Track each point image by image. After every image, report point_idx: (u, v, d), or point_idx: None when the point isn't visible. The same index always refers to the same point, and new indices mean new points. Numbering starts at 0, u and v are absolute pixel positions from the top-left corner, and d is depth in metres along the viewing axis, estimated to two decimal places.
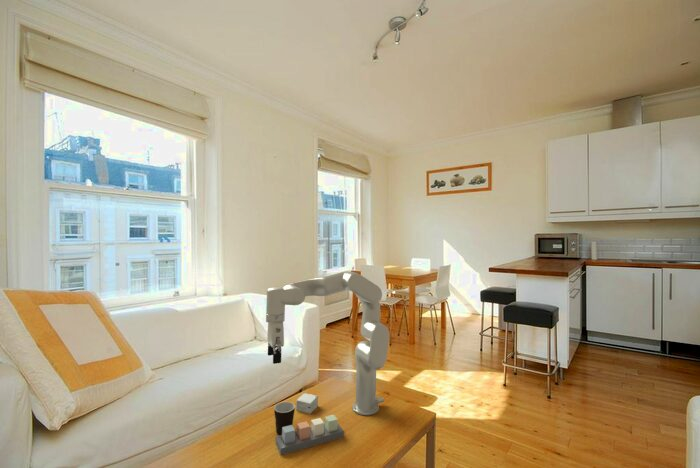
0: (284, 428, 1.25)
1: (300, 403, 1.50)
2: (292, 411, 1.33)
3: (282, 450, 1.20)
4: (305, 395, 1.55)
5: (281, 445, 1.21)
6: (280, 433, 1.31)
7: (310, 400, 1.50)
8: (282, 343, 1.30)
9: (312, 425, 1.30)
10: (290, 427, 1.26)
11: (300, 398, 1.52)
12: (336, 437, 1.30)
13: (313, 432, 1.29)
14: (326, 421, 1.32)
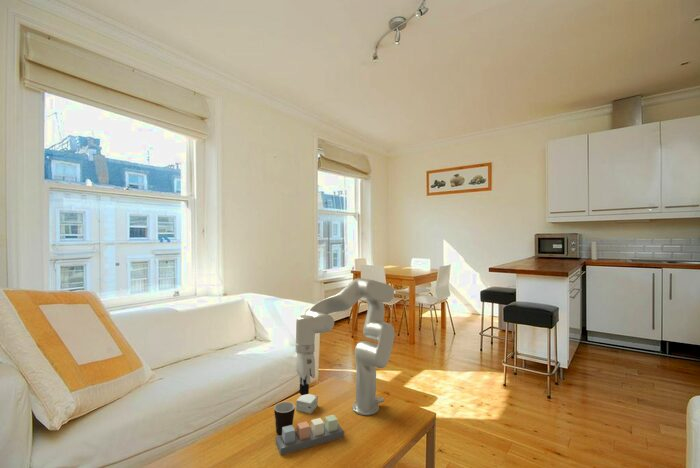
0: (284, 428, 1.25)
1: (300, 403, 1.50)
2: (292, 411, 1.33)
3: (282, 450, 1.20)
4: (305, 395, 1.55)
5: (281, 445, 1.21)
6: (280, 433, 1.31)
7: (310, 400, 1.50)
8: (313, 375, 1.24)
9: (312, 425, 1.30)
10: (290, 427, 1.26)
11: (300, 398, 1.52)
12: (336, 437, 1.30)
13: (313, 432, 1.29)
14: (326, 421, 1.32)
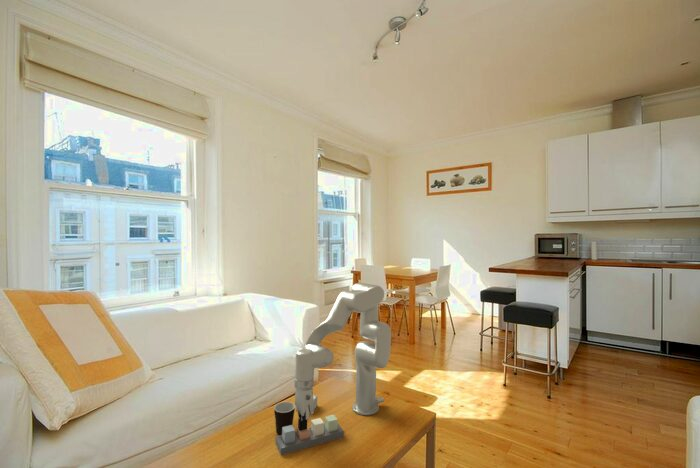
0: (284, 428, 1.25)
1: None
2: (292, 411, 1.33)
3: (282, 450, 1.20)
4: None
5: (281, 445, 1.21)
6: (280, 433, 1.31)
7: None
8: (312, 411, 1.24)
9: (312, 425, 1.30)
10: (290, 427, 1.26)
11: None
12: (336, 437, 1.30)
13: (313, 432, 1.29)
14: (326, 421, 1.32)
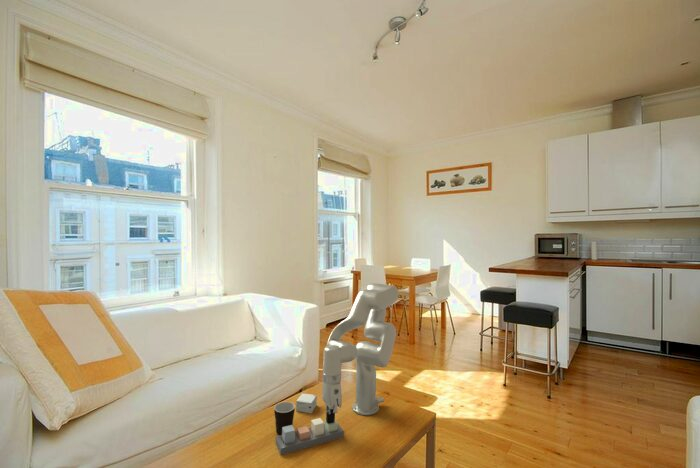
0: (284, 428, 1.25)
1: (300, 403, 1.50)
2: (292, 411, 1.33)
3: (282, 450, 1.20)
4: (304, 395, 1.55)
5: (281, 445, 1.21)
6: (280, 433, 1.31)
7: (310, 400, 1.50)
8: (340, 404, 1.29)
9: (312, 425, 1.30)
10: (290, 427, 1.26)
11: (299, 398, 1.52)
12: (336, 437, 1.30)
13: (313, 432, 1.29)
14: (326, 425, 1.32)
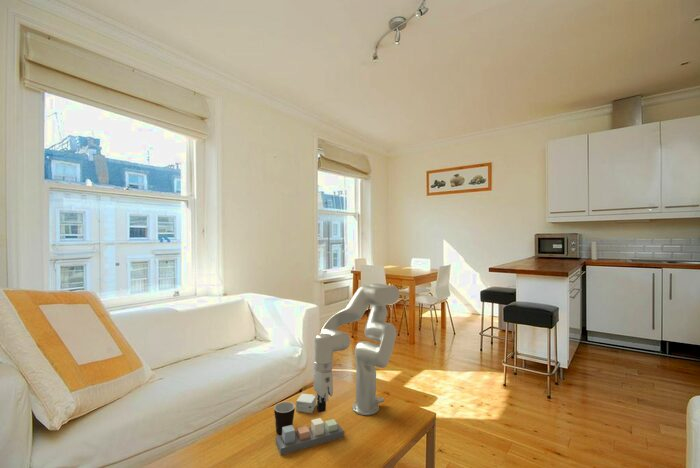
0: (284, 428, 1.25)
1: (300, 403, 1.49)
2: (292, 411, 1.33)
3: (282, 450, 1.20)
4: (303, 395, 1.55)
5: (281, 445, 1.21)
6: (280, 433, 1.31)
7: (310, 400, 1.50)
8: (331, 393, 1.27)
9: (312, 425, 1.30)
10: (290, 427, 1.26)
11: (299, 399, 1.52)
12: (336, 437, 1.30)
13: (313, 432, 1.29)
14: (326, 426, 1.32)
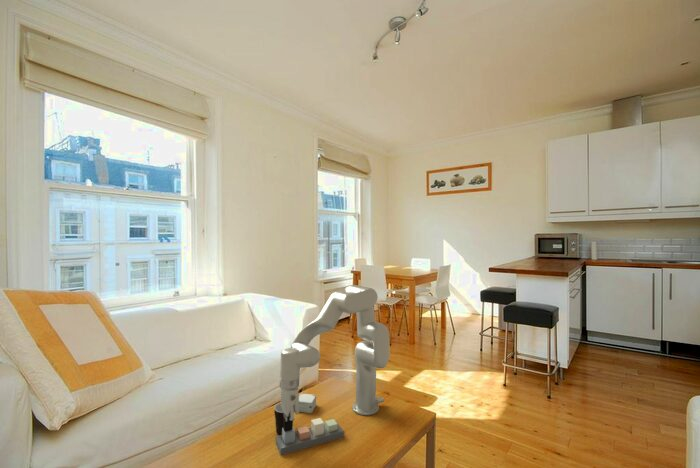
0: None
1: (301, 403, 1.49)
2: None
3: (282, 450, 1.20)
4: (303, 395, 1.55)
5: (281, 445, 1.21)
6: (280, 433, 1.31)
7: (310, 400, 1.51)
8: (297, 411, 1.21)
9: (312, 425, 1.30)
10: None
11: (299, 399, 1.52)
12: (336, 437, 1.30)
13: (313, 432, 1.29)
14: (326, 426, 1.32)
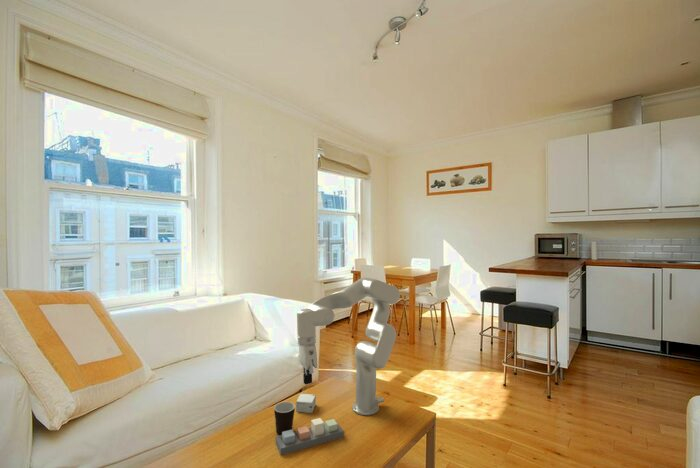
0: (284, 433, 1.25)
1: (301, 403, 1.49)
2: (292, 411, 1.33)
3: (282, 450, 1.20)
4: (303, 395, 1.55)
5: (281, 445, 1.21)
6: (280, 433, 1.31)
7: (310, 400, 1.51)
8: (316, 365, 1.31)
9: (312, 425, 1.30)
10: (290, 432, 1.26)
11: (299, 399, 1.51)
12: (336, 437, 1.30)
13: (313, 432, 1.29)
14: (326, 426, 1.32)
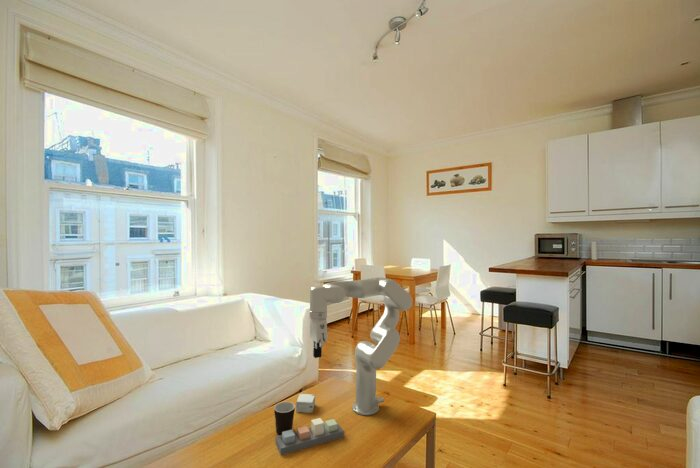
0: (284, 433, 1.25)
1: (301, 403, 1.49)
2: (292, 411, 1.33)
3: (282, 450, 1.20)
4: (302, 395, 1.55)
5: (281, 445, 1.21)
6: (280, 433, 1.31)
7: (310, 400, 1.51)
8: (326, 339, 1.37)
9: (312, 425, 1.30)
10: (290, 432, 1.26)
11: (299, 399, 1.51)
12: (336, 437, 1.30)
13: (313, 432, 1.29)
14: (326, 426, 1.32)
